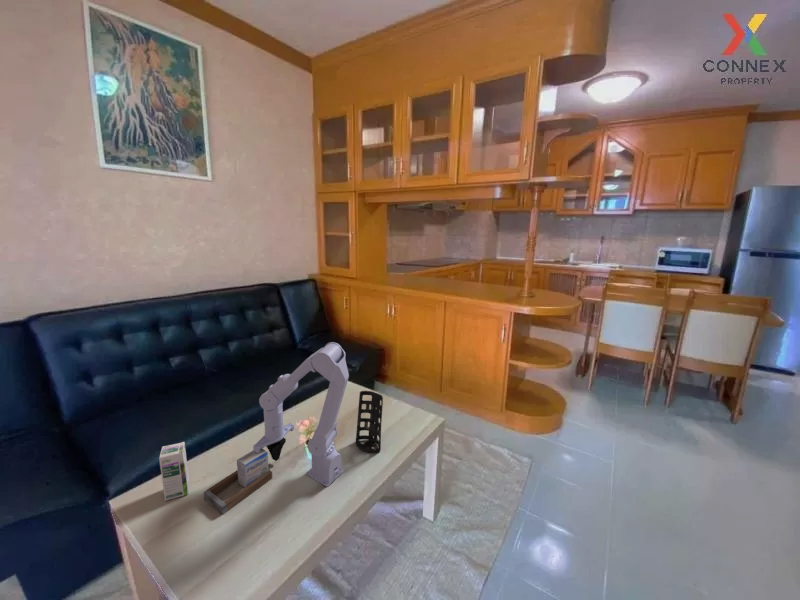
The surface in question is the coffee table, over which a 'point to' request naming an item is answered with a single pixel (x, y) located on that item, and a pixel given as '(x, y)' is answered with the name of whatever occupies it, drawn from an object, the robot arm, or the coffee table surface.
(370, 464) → the coffee table surface
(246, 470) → the medicine box
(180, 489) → the syrup box
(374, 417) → the holder
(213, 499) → the open rail bay
